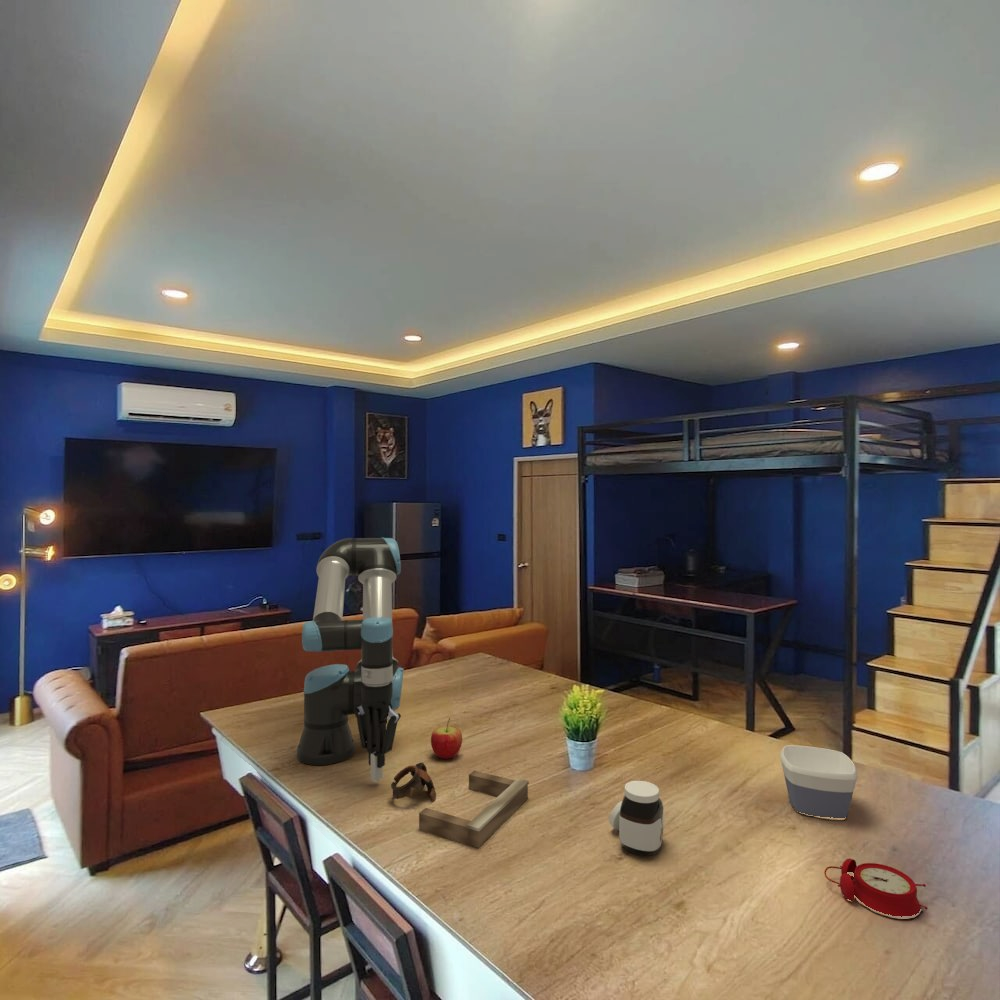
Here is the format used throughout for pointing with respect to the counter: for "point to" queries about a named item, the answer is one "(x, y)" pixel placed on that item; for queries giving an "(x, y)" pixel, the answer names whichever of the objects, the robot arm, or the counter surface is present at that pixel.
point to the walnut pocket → (486, 821)
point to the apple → (446, 741)
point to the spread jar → (639, 818)
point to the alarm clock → (879, 888)
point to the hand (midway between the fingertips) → (376, 779)
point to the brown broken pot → (413, 782)
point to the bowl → (818, 780)
